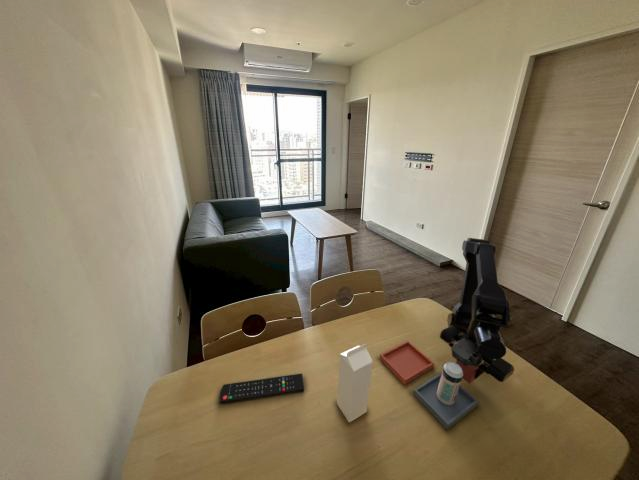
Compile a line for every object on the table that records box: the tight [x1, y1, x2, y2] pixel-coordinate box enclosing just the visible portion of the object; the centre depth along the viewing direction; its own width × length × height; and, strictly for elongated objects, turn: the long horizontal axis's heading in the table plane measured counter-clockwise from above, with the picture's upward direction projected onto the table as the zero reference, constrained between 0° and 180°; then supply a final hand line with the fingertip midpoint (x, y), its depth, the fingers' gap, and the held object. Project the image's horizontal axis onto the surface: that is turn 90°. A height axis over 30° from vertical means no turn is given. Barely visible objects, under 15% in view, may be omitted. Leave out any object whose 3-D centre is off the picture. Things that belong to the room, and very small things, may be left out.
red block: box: [455, 359, 483, 385], centre depth 76 cm, size 5×5×5 cm
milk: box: [336, 343, 374, 423], centre depth 66 cm, size 6×6×22 cm
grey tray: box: [412, 371, 479, 431], centre depth 72 cm, size 13×11×2 cm
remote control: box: [219, 373, 305, 404], centre depth 74 cm, size 5×24×1 cm, turn 100°
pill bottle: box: [437, 361, 463, 405], centre depth 70 cm, size 5×5×12 cm
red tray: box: [379, 340, 435, 386], centre depth 84 cm, size 13×11×2 cm
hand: (467, 371), depth 77 cm, fingers closed on red block, 5 cm apart
